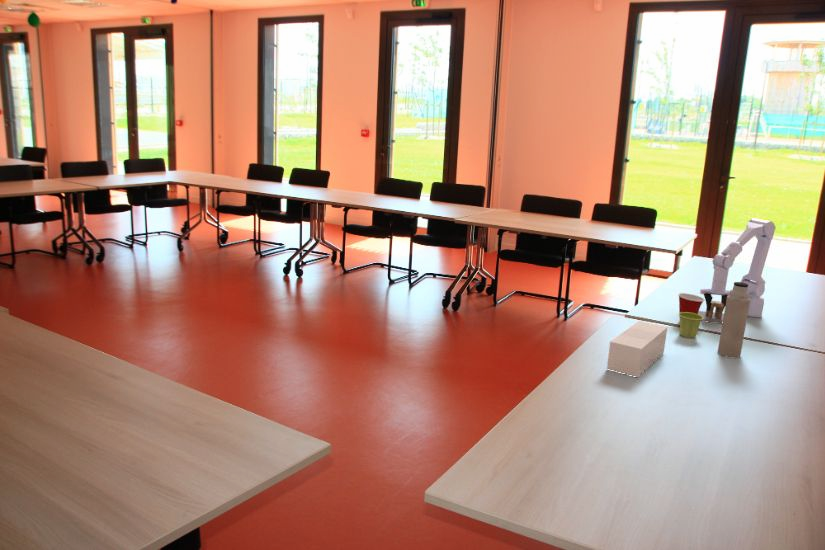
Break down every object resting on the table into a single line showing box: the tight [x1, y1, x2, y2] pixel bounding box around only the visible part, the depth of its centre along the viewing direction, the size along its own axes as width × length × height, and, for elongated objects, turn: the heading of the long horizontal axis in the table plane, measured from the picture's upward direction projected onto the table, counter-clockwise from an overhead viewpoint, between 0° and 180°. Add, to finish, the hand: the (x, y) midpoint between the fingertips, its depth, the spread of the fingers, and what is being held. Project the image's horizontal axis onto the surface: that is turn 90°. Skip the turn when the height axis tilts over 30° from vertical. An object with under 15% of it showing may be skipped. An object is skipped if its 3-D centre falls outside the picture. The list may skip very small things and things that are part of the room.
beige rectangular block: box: [606, 320, 668, 378], centre depth 249 cm, size 32×11×11 cm, turn 145°
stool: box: [705, 300, 724, 319], centre depth 310 cm, size 5×5×7 cm
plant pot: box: [678, 312, 703, 339], centre depth 282 cm, size 9×9×9 cm
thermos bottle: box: [717, 281, 750, 358], centre depth 260 cm, size 8×8×28 cm
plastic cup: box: [677, 292, 706, 314], centre depth 300 cm, size 11×11×12 cm
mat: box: [698, 310, 724, 324], centre depth 310 cm, size 16×16×1 cm
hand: (714, 310), depth 309 cm, fingers closed on stool, 5 cm apart
